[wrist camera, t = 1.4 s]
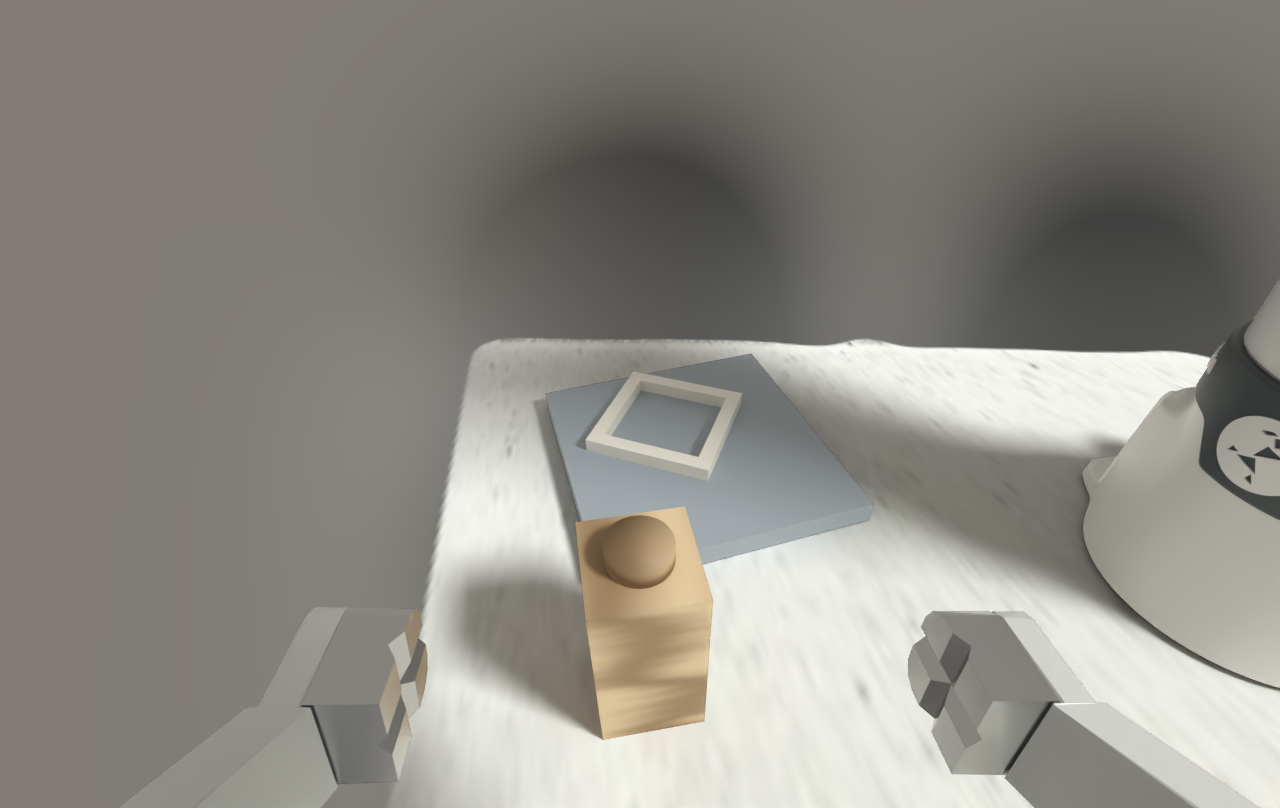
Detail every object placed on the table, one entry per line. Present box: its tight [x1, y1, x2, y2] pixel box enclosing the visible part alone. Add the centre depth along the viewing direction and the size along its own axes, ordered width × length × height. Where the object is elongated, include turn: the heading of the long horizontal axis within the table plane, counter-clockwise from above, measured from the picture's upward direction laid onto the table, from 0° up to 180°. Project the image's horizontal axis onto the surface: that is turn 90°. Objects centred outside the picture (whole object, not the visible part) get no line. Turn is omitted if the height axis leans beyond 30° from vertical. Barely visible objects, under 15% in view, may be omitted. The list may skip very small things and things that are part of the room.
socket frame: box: [586, 371, 742, 481], centre depth 45 cm, size 9×9×1 cm
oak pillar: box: [575, 506, 713, 740], centre depth 28 cm, size 5×5×11 cm
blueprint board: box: [546, 354, 874, 564], centre depth 44 cm, size 18×18×2 cm
